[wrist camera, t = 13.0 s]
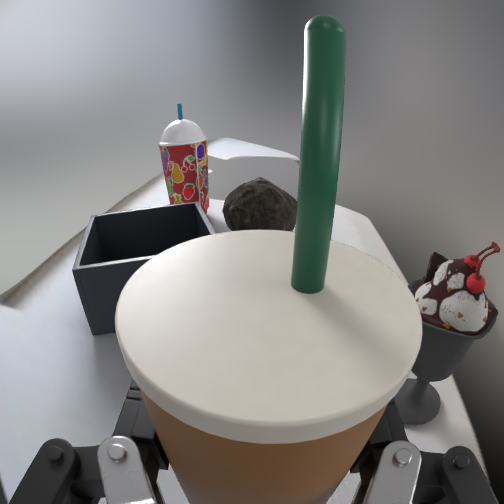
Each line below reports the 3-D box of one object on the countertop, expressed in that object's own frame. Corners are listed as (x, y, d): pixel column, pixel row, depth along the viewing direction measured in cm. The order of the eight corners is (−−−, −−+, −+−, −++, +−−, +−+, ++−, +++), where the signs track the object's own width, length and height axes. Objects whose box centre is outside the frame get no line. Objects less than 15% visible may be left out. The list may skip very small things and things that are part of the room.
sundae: (438, 444, 18) (528, 270, 11) (363, 416, 21) (407, 236, 15) (456, 385, 22) (516, 225, 15) (391, 364, 26) (427, 202, 19)
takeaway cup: (208, 562, 8) (14, -88, 1) (176, 453, 13) (103, 43, 6) (344, 520, 10) (550, 54, 2) (292, 425, 15) (338, 49, 8)
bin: (92, 335, 29) (71, 270, 25) (101, 267, 41) (91, 215, 37) (227, 314, 33) (225, 248, 30) (201, 253, 45) (198, 201, 41)
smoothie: (223, 211, 58) (214, 100, 49) (189, 227, 52) (175, 103, 43) (192, 205, 63) (182, 103, 54) (159, 218, 57) (144, 108, 48)
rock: (305, 220, 53) (297, 162, 47) (294, 260, 44) (283, 192, 39) (247, 222, 56) (234, 167, 51) (225, 260, 47) (207, 198, 42)
